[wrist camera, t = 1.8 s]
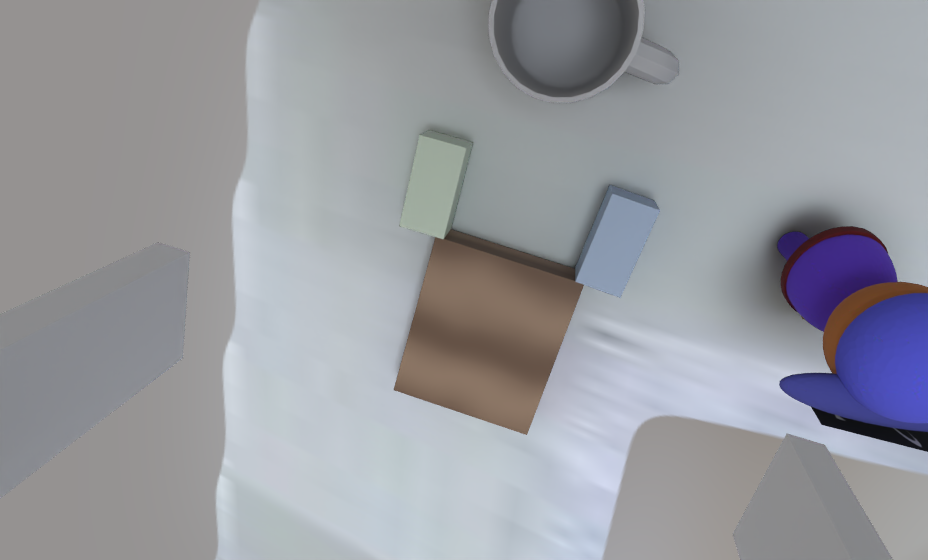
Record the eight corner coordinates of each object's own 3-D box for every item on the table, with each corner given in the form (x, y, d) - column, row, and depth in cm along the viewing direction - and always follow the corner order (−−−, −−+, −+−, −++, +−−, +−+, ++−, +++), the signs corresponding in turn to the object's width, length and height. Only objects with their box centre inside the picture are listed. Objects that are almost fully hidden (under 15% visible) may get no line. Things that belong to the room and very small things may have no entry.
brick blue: (609, 184, 40) (612, 193, 37) (653, 199, 40) (660, 210, 37) (575, 266, 42) (575, 281, 39) (617, 281, 42) (620, 297, 39)
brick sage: (429, 129, 41) (419, 134, 38) (473, 142, 40) (466, 148, 38) (410, 215, 43) (399, 226, 40) (451, 227, 43) (443, 239, 40)
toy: (719, 304, 41) (786, 440, 28) (763, 192, 38) (863, 284, 25) (888, 344, 40) (1043, 507, 27) (947, 233, 37) (1157, 353, 24)
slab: (443, 226, 42) (435, 236, 40) (583, 271, 42) (584, 284, 40) (402, 373, 47) (393, 390, 45) (529, 415, 46) (526, 434, 44)
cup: (535, -56, 36) (524, -91, 28) (694, 11, 36) (732, -3, 27) (488, 66, 39) (465, 68, 30) (636, 129, 38) (654, 149, 30)
